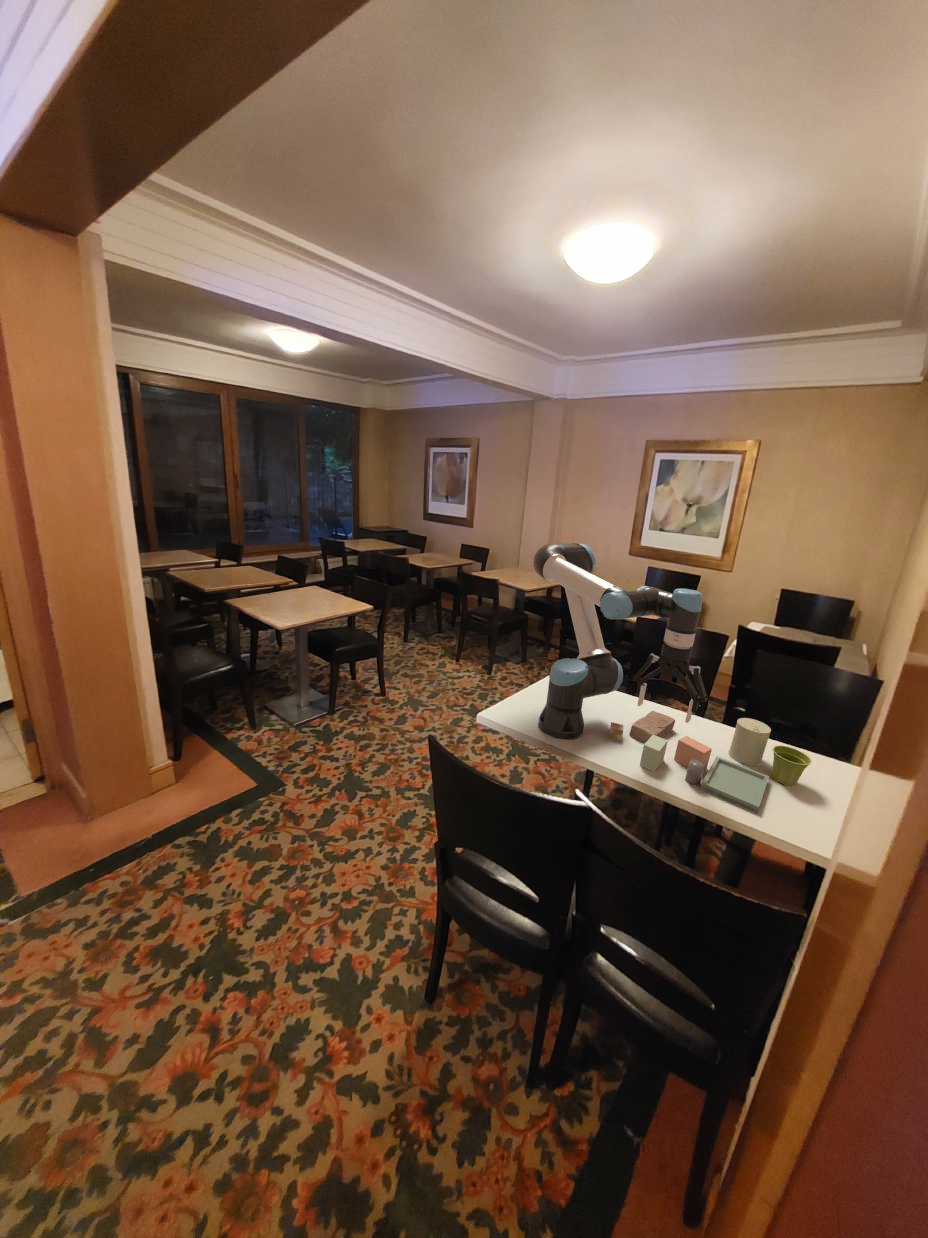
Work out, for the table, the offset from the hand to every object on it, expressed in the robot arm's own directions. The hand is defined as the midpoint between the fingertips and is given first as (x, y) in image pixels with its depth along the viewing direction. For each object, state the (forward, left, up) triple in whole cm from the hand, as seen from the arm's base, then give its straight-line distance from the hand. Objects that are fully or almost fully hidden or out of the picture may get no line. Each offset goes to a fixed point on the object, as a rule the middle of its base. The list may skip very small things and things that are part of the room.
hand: (663, 712), depth 135 cm
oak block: (-14, +6, -17) cm, 23 cm away
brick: (-6, +18, -18) cm, 26 cm away
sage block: (0, 0, -17) cm, 17 cm away
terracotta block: (+9, +8, -17) cm, 21 cm away
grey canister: (+12, -1, -17) cm, 21 cm away
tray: (+21, +6, -17) cm, 28 cm away
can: (+21, +25, -17) cm, 37 cm away
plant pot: (+32, +20, -17) cm, 41 cm away
